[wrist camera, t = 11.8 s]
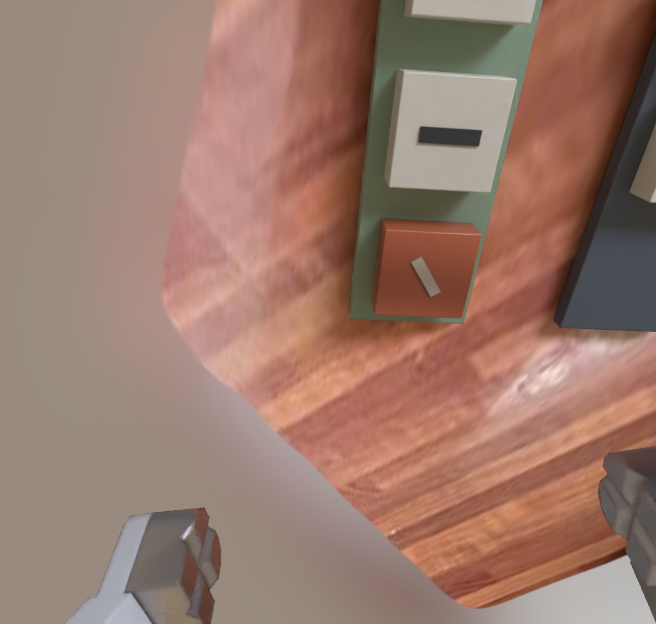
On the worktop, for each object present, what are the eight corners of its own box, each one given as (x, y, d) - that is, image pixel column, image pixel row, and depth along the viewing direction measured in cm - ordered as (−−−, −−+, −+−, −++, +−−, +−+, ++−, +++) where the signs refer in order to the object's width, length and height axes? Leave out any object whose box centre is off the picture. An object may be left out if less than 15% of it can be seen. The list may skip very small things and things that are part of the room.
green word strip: (397, -183, 18) (410, -218, 16) (574, -165, 19) (614, -197, 16) (348, 311, 29) (351, 336, 27) (459, 315, 30) (473, 341, 27)
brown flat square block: (380, 217, 25) (385, 230, 24) (472, 222, 25) (483, 235, 24) (370, 299, 28) (374, 316, 26) (454, 303, 28) (463, 319, 26)
